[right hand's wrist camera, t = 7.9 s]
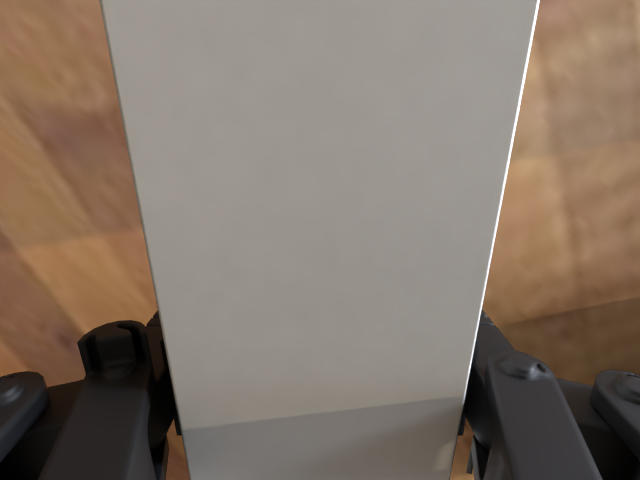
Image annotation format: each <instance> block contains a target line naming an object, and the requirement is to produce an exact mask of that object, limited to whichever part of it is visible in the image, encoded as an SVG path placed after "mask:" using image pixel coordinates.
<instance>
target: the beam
mask: <svg viewBox="0 0 640 480" xmlns="http://www.w3.org/2000/svg"><path fill="white" fill-rule="evenodd" d="M99 1H100V6H101V11H102V17H103V22H104V27H105V32H106V38H107V43H108V48H109V54H110V59H111V64H112V69H113V75H114V80H115V85H116V91H117V96H118V101H119V106H120V112H121V117H122V122H123V127H124V133H125V138H126V143H127V149H128V154H129V159H130V164H131V170H132V175H133V180H134V186H135V191H136V196H137V201H138V207H139V212H140V217H141V222H142V228H143V233H144V238H145V244H146V249H147V254H148V259H149V265H150V270H151V275H152V281H153V286H154V291H155V296H156V302H157V307H158V312H159V317H160V323H161V328H162V333H163V339H164V344H165V349H166V354H167V360H168V365H169V370H170V376H171V381H172V386H173V391H174V397H175V402H176V407H177V412H178V418H179V423H180V428H181V434H182V439H183V444H184V449H185V455H186V460H187V465H188V471H189V476H190V480H450V474H451V469H452V464H453V458H454V453H455V448H456V442H457V437H458V432H459V427H460V421H461V416H462V411H463V405H464V400H465V395H466V389H467V384H468V379H469V373H470V368H471V363H472V357H473V352H474V347H475V342H476V336H477V331H478V326H479V320H480V315H481V310H482V304H483V299H484V294H485V288H486V283H487V278H488V272H489V267H490V262H491V257H492V251H493V246H494V241H495V235H496V230H497V225H498V219H499V214H500V209H501V203H502V198H503V193H504V187H505V182H506V177H507V172H508V166H509V161H510V156H511V150H512V145H513V140H514V134H515V129H516V124H517V118H518V113H519V108H520V102H521V97H522V92H523V87H524V81H525V76H526V71H527V65H528V60H529V55H530V49H531V44H532V39H533V33H534V28H535V23H536V17H537V12H538V7H539V2H540V0H99Z"/></svg>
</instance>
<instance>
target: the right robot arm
mask: <svg viewBox="0 0 640 480" xmlns="http://www.w3.org/2000/svg"><path fill="white" fill-rule="evenodd" d="M77 343H78V347H79V350H80V354H81V358H82V361H83V365H84V368H85V372H86V376H85V378H84V379H83V380H80V381H76V382H71V383H66V384H62V385H57V386H52V387H47V386H46V383H45V380H44V377H43V376H42V375H40V374H39V373H38V372H30V371H26V372H19V373H13V374H9V375H7V376H2V377H0V480H165V479H166V471H167V462H168V454H169V446H168V440H167V432H168V429H169V427H170V425H171V423H172V421H173V419H174V422H175V427H176V433H177V435H182V434H181V428H180V423H179V418H178V412H177V407H176V402H175V397H174V391H173V386H172V381H171V376H170V370H169V365H168V360H167V354H166V349H165V344H164V339H163V333H162V328H161V323H160V317H159V312H158V311H157V312H156V313H155V315H154V316H153V318H151V320H150V321H149V322H148V323H147V326H146V327H145V326H144V325H143V324H142V323H141V322H137V321H132V320H126V321H116V322H112V323H107V324H105V325H102V326H100V327H97V328H95V329H93V330H91V331H90V332H88V333H87V334H85V335H84V336H83V337H82V338H81V339H80V340H79V341H78V342H77ZM466 418H467V420H468V422H469V424H470V426H471V428H472V430H473V432H474V434H473V440H472V445H471V450H470V455H469V460H468V465H467V472H466V473H470V474H472V469H473V470H474V478H475V480H640V375H637V374H633V373H631V372H626V371H619V370H605V371H601V372H600V373H599V374H598V375H597V376H596V379H595V382H594V385H593V386H591V385H586V384H581V383H577V382H572V381H567V380H563V379H559V378H555V375H554V374H553V372H552V371H551V370H550V368H549V367H548V366H547V365H546V364H544V363H543V362H542V361H540V360H539V359H537V358H535V357H533V356H531V355H529V354H526V353H523V352H519V351H515V350H514V348H513V347H512V346H511V345H510V343H509V342H508V341H507V340H506V338H505V337H504V336H503V335H502V333H501V332H500V331H499V330H498V328H497V327H496V326H495V325H493V322H492V321H491V320H490V318H489V317H487V315H486V313H485V312H484V311H483V310H481V315H480V320H479V326H478V331H477V336H476V342H475V347H474V352H473V357H472V363H471V368H470V373H469V379H468V384H467V389H466V395H465V400H464V405H463V411H462V416H461V421H460V427H459V432H458V435H463V431H464V426H465V420H466Z"/></svg>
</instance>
